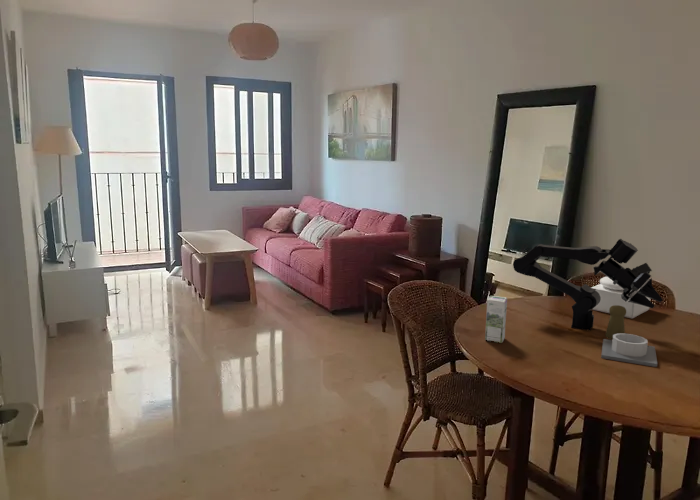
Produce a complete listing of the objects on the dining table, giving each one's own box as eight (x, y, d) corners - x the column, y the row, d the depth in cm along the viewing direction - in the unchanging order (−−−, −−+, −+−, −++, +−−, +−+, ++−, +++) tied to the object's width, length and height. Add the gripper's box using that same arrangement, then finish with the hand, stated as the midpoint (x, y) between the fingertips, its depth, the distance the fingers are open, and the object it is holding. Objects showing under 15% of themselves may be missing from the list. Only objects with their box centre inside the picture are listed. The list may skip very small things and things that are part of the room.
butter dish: (604, 300, 229) (608, 264, 226) (650, 310, 216) (655, 271, 213) (586, 308, 217) (590, 270, 214) (633, 319, 204) (638, 278, 201)
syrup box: (504, 338, 182) (507, 296, 179) (502, 343, 177) (504, 301, 174) (487, 335, 184) (490, 294, 182) (484, 341, 179) (486, 299, 176)
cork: (627, 340, 181) (630, 309, 178) (607, 339, 182) (611, 308, 180) (622, 334, 186) (625, 304, 184) (603, 333, 188) (606, 303, 185)
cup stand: (601, 358, 165) (602, 342, 164) (603, 341, 179) (604, 327, 178) (656, 367, 159) (658, 351, 158) (654, 349, 173) (656, 334, 172)
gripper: (639, 248, 176) (683, 279, 170) (626, 264, 193) (665, 293, 187) (616, 272, 176) (659, 304, 169) (605, 286, 193) (643, 316, 187)
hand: (657, 304), depth 178 cm, fingers open, 9 cm apart
